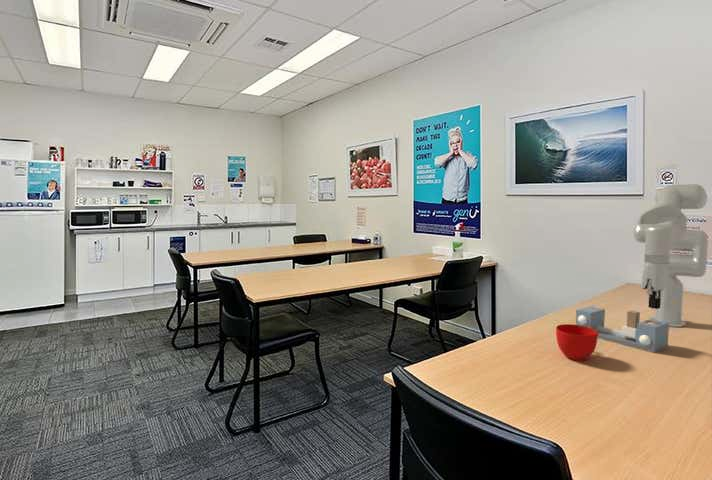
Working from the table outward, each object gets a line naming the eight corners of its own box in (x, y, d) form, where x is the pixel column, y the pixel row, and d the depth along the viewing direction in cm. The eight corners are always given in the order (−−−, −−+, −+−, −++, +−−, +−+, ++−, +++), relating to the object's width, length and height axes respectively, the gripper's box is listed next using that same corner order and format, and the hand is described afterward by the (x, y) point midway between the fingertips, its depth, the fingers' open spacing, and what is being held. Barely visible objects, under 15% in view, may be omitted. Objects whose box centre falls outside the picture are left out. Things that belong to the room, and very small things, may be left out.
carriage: (629, 333, 161) (631, 309, 160) (643, 337, 157) (645, 311, 156) (620, 336, 158) (622, 311, 157) (635, 340, 153) (636, 314, 152)
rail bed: (589, 327, 177) (590, 306, 176) (667, 347, 152) (669, 322, 151) (574, 332, 171) (575, 310, 170) (653, 353, 146) (654, 327, 145)
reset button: (649, 329, 154) (649, 321, 153) (660, 331, 151) (660, 324, 150) (644, 331, 152) (645, 323, 152) (656, 333, 149) (656, 325, 148)
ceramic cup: (589, 349, 151) (590, 322, 150) (600, 366, 135) (602, 337, 134) (551, 345, 155) (552, 320, 154) (557, 361, 139) (558, 333, 138)
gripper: (654, 256, 156) (652, 302, 158) (635, 260, 148) (633, 309, 150) (677, 258, 150) (675, 306, 152) (659, 263, 142) (656, 313, 144)
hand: (654, 307), depth 151 cm, fingers closed
